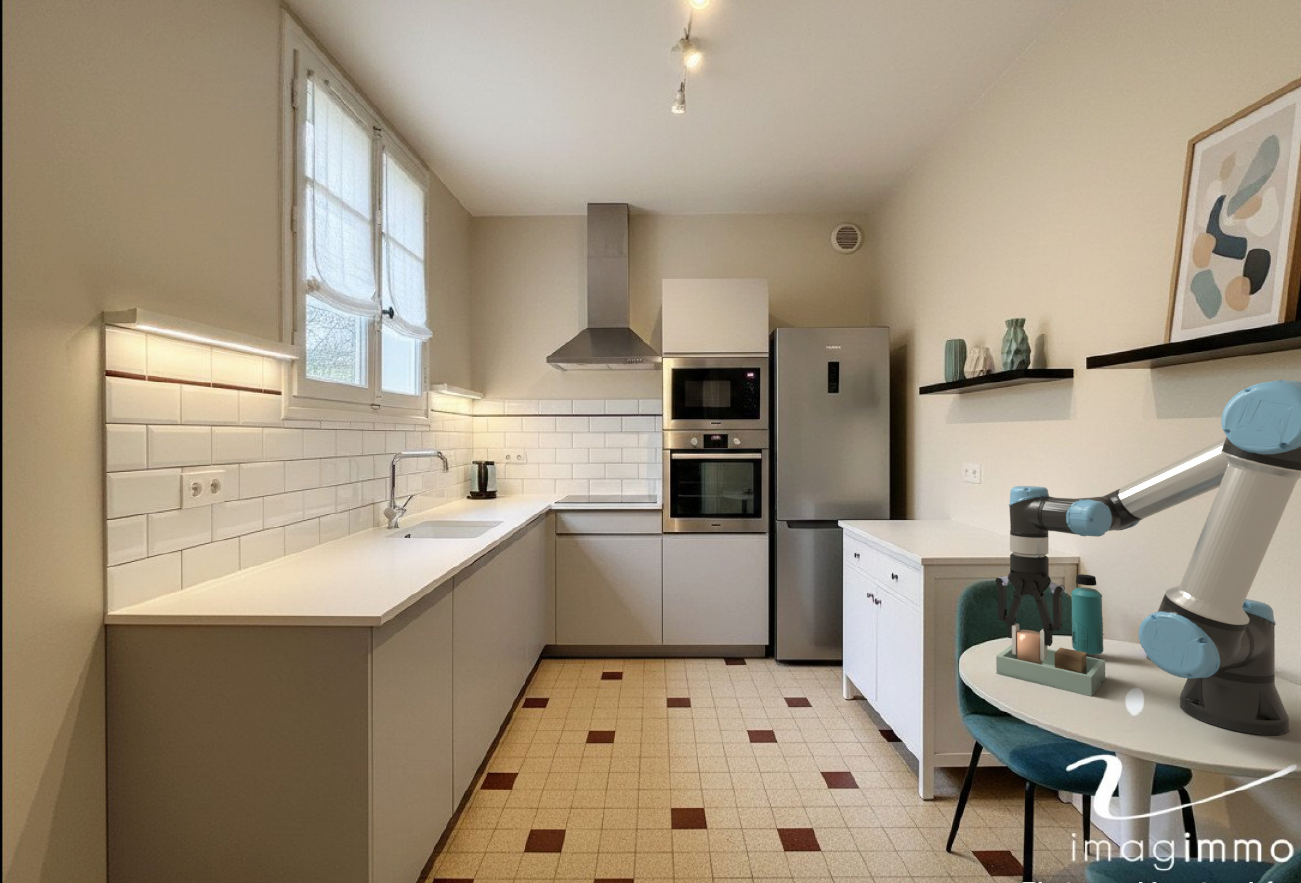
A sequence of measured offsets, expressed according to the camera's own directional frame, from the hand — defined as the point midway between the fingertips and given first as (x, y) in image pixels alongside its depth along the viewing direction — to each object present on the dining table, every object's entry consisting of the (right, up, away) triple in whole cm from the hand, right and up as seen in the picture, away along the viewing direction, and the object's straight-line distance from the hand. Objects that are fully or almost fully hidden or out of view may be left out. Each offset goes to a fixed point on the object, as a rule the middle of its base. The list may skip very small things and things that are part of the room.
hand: (1029, 655), depth 141 cm
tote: (+4, -4, -1) cm, 6 cm away
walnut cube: (+8, -4, -2) cm, 9 cm away
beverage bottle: (+21, -4, +11) cm, 24 cm away
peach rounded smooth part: (0, -2, 0) cm, 2 cm away
